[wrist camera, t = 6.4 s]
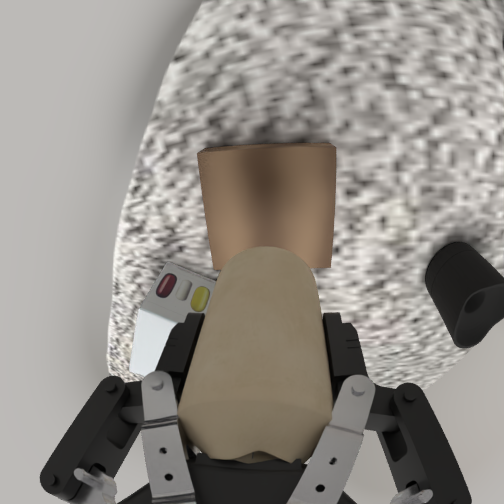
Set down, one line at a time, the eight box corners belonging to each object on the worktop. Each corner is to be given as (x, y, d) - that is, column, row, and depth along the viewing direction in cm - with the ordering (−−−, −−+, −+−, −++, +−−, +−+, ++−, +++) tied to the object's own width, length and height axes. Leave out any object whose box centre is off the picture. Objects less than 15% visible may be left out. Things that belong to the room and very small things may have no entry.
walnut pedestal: (329, 143, 24) (336, 147, 22) (326, 252, 30) (330, 267, 27) (205, 148, 25) (197, 153, 23) (219, 255, 31) (213, 269, 29)
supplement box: (293, 308, 35) (296, 366, 27) (252, 363, 41) (247, 414, 33) (166, 257, 32) (136, 308, 24) (149, 325, 39) (127, 373, 31)
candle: (197, 276, 15) (133, 446, 7) (279, 224, 13) (276, 432, 5) (256, 335, 17) (239, 488, 9) (333, 298, 15) (361, 470, 7)
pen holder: (469, 288, 31) (501, 333, 22) (418, 304, 33) (445, 357, 24) (479, 231, 27) (522, 273, 18) (423, 245, 29) (463, 297, 20)
